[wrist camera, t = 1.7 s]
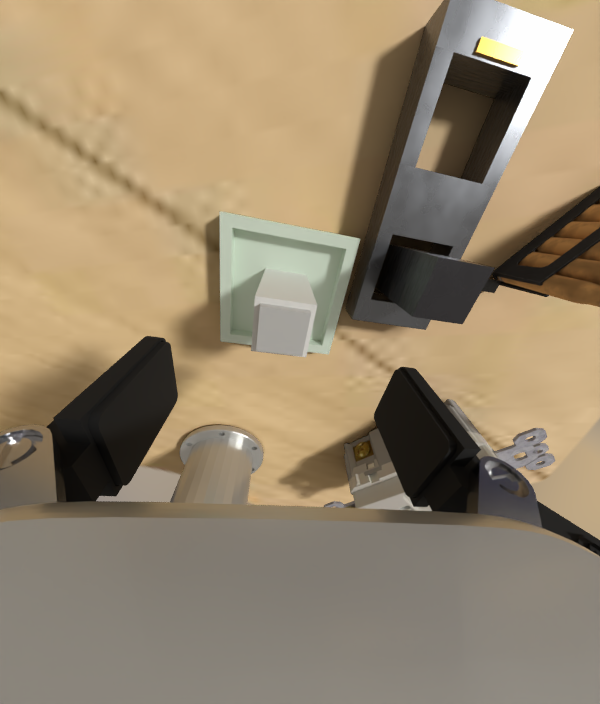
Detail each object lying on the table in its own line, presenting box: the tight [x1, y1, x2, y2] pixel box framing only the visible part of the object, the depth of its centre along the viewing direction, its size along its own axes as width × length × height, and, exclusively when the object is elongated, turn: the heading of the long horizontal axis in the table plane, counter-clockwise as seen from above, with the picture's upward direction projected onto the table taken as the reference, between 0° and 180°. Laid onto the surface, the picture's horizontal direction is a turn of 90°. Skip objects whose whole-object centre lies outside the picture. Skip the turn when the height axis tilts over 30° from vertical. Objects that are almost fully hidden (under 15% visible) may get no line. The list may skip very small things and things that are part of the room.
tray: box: [220, 212, 360, 354], centre depth 23 cm, size 12×12×2 cm
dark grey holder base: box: [345, 0, 573, 330], centre depth 17 cm, size 20×15×9 cm
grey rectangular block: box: [251, 268, 317, 357], centre depth 19 cm, size 4×4×10 cm
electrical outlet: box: [324, 399, 555, 511], centre depth 33 cm, size 12×28×10 cm, turn 129°
